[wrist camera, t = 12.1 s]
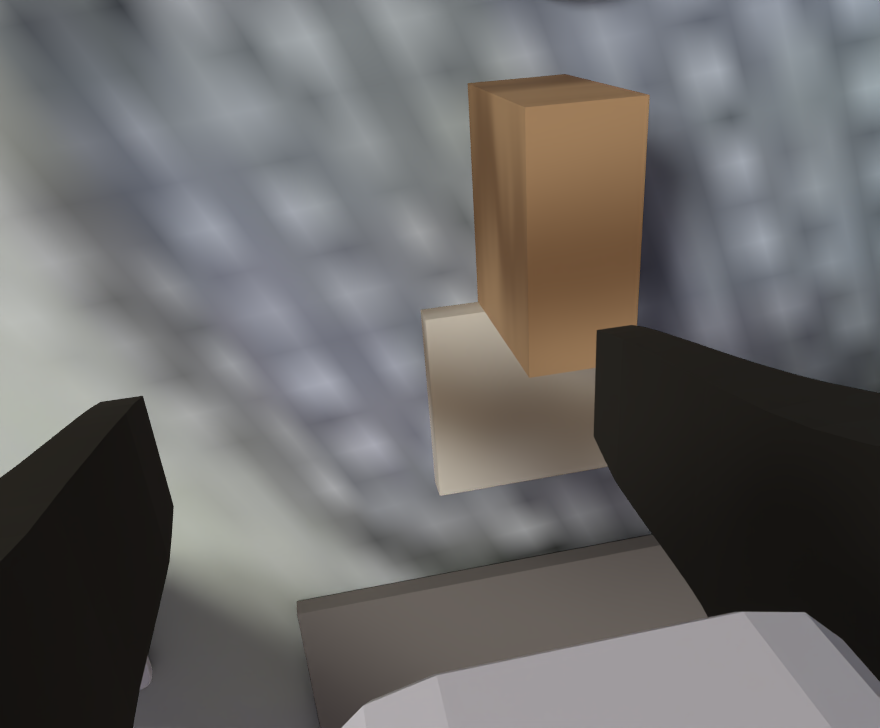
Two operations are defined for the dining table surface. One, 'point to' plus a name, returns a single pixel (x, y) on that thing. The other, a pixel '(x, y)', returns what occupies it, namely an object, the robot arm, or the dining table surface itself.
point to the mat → (484, 618)
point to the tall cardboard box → (538, 279)
